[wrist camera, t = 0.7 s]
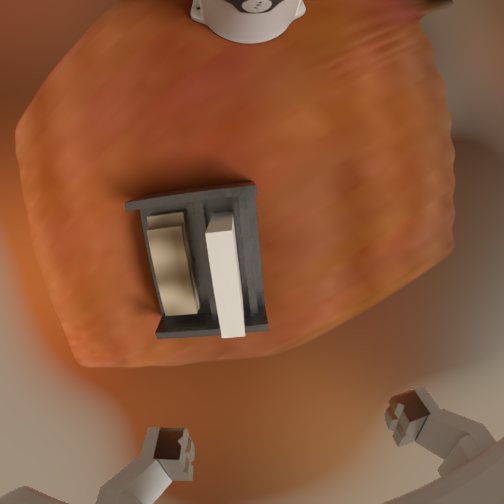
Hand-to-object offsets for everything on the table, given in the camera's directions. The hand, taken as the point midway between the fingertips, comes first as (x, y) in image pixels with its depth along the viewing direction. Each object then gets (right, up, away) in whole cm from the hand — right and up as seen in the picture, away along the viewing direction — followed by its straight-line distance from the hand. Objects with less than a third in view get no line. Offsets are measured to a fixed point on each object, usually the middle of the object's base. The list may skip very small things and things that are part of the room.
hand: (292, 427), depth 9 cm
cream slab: (-5, +6, +36) cm, 36 cm away
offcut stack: (-14, +5, +35) cm, 38 cm away
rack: (-9, +6, +37) cm, 39 cm away
